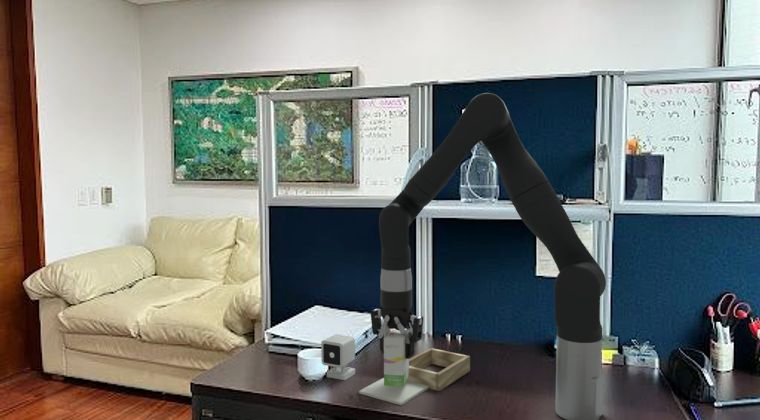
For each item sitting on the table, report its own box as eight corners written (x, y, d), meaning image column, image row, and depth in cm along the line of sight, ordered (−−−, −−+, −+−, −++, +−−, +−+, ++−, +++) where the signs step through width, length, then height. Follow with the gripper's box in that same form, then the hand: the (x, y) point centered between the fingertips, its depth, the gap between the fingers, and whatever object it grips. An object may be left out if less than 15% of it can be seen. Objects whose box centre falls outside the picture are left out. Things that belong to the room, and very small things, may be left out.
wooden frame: (469, 371, 154) (469, 356, 153) (439, 391, 141) (439, 374, 140) (430, 362, 161) (430, 347, 160) (397, 380, 148) (397, 364, 147)
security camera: (321, 378, 149) (320, 340, 148) (336, 369, 155) (335, 332, 154) (342, 382, 146) (342, 343, 145) (356, 373, 152) (356, 336, 152)
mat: (432, 385, 144) (432, 383, 144) (401, 405, 133) (401, 402, 133) (392, 375, 151) (392, 373, 151) (359, 393, 140) (359, 390, 140)
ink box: (404, 387, 137) (403, 325, 136) (383, 386, 138) (382, 324, 137) (409, 374, 145) (409, 315, 144) (390, 373, 146) (389, 315, 145)
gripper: (430, 287, 138) (430, 356, 140) (380, 280, 147) (381, 345, 148) (413, 293, 132) (413, 365, 134) (362, 286, 141) (363, 354, 142)
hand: (396, 355), depth 141 cm, fingers closed on ink box, 6 cm apart
